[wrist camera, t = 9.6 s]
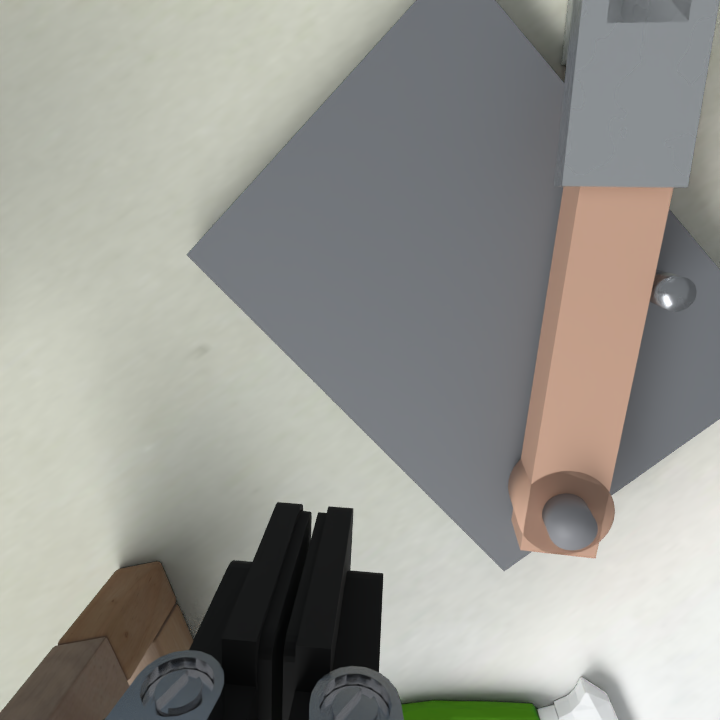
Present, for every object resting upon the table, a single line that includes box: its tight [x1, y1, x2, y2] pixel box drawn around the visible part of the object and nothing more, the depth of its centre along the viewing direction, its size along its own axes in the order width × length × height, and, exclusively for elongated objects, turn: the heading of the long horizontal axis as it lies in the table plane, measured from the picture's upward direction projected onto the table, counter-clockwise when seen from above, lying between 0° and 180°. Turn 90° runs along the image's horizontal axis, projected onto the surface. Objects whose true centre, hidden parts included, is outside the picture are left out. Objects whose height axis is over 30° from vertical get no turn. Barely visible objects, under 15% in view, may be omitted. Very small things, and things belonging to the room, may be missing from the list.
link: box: [508, 187, 673, 558], centre depth 28 cm, size 24×5×4 cm, turn 177°
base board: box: [187, 0, 720, 571], centre depth 31 cm, size 27×20×2 cm
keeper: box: [554, 0, 720, 312], centre depth 26 cm, size 14×7×7 cm, turn 179°
